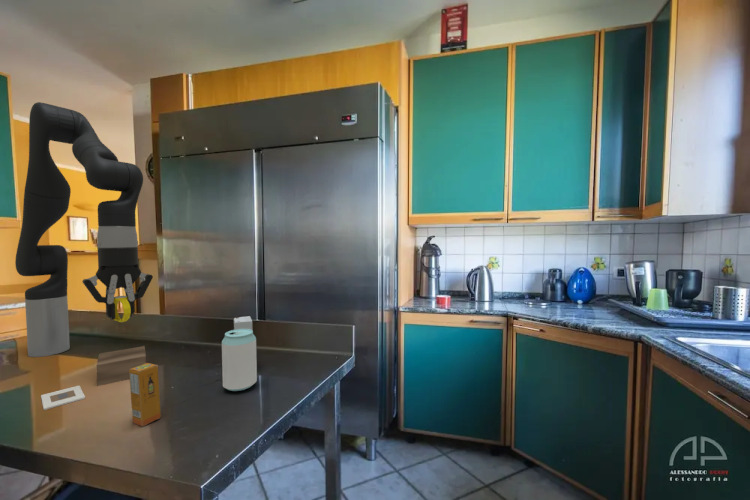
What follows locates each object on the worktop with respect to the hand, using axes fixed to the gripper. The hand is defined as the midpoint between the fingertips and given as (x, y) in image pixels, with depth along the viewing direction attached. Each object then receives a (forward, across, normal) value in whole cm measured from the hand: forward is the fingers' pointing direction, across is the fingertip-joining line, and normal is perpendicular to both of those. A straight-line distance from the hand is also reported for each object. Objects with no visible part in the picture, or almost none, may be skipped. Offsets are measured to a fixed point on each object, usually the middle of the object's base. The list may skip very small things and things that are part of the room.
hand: (120, 317), depth 79 cm
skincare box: (+14, -22, +17) cm, 31 cm away
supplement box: (+14, +2, +28) cm, 31 cm away
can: (+14, -16, +27) cm, 34 cm away
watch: (+1, 0, 0) cm, 1 cm away
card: (+14, +11, +5) cm, 18 cm away
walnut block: (+14, 0, 0) cm, 14 cm away
